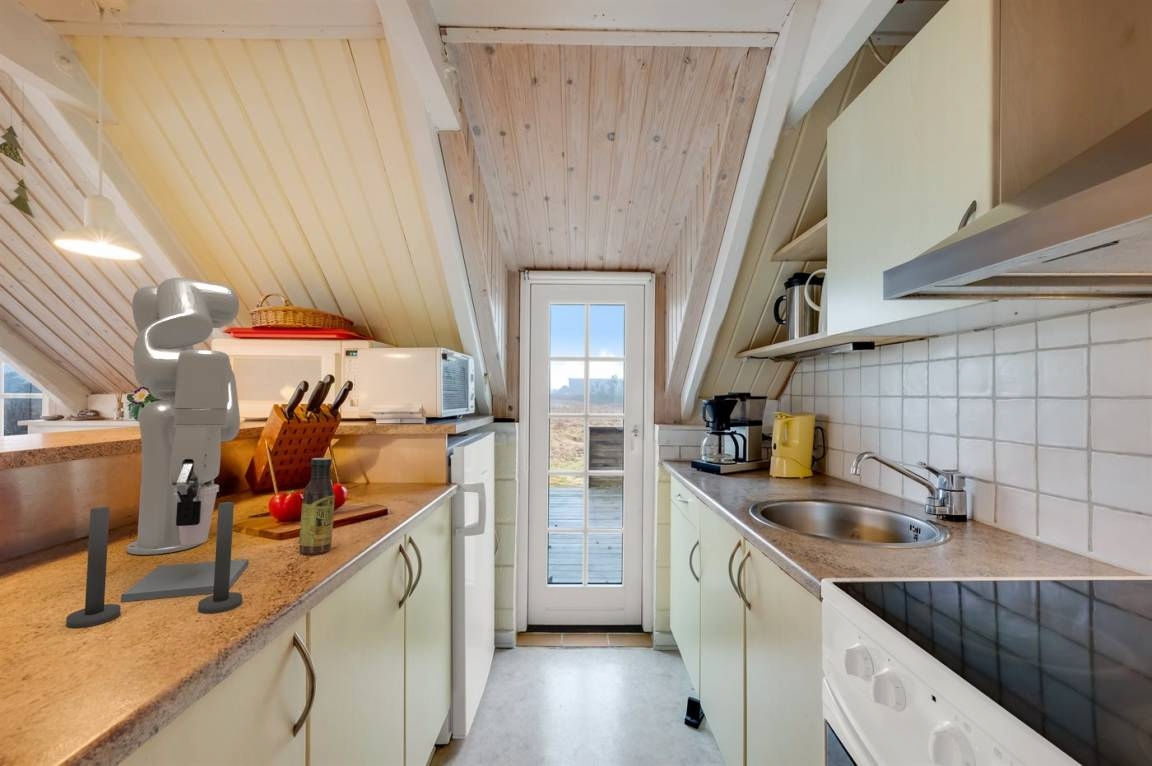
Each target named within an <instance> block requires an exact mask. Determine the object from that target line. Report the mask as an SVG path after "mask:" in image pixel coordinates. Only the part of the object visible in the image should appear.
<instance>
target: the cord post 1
mask: <svg viewBox="0 0 1152 766" xmlns="http://www.w3.org/2000/svg"><path fill="white" fill-rule="evenodd" d="M89 513H90V515H89V531H88V551H87V563H86V564H87V568H86V581H85V582H86V584H85V585H86V586H85V599H84V600H85V602H84V608H82V609H79V610H76V611H74V612H72V613H70V614H68V615H67V616H66V622H65V626H66V627H67V628H70V629H83V628H82V627H84V628H89V626H90V627H95V626H98V625H97V624H99V625H102V624H105V623H108V622H110V621H112V620H113V621H114V619H116V618H118V617H120V616H121V605H120V604H116V603H106V604H105V599H106V598H105V597H106V577H107V561H108V547H109V546H108V545H109V544H108V543H109V542H108V541H109V527H110V525H109V524H110V507H109V506H102V507H101V506H99V507H94V508H90V511H89ZM104 622H105V623H104ZM101 623H102V624H101ZM94 625H95V626H94Z"/></svg>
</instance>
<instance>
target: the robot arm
mask: <svg viewBox="0 0 1152 766" xmlns="http://www.w3.org/2000/svg"><path fill="white" fill-rule="evenodd" d="M239 310H240V300H239V297H238V294H237V293H236V290H235V289H233V287H231V286H229V285H225V284H222V283H217V282H212V281H211V282H210V281H204V280H198V279H192V278H186V277H171V278H168V279H165V280H163V281H162V282H161V283H160V284H158V285H151V286H143V287H141V288H140V287H139V288H138V289H137V290H136V291H135V293H134V294H133V297H132V315H133V320H134V324H135V327H136V329H137V331H138V335H137V337H136V338H135V341H134V344H133V350H132V353H133V355H132V357H133V371H134V377H135V380H136V382H137V384H139V385H140V386H141V387H143V388H145V389H148V391H149V393H150V395H151V396H152V397H153V398H155V399H158V400H154V401H151V402H149V403H147V404H145V405H144V406H143V407H142V408H141V410H140V413H139V419H138V424H139V431H140V439H141V440H140V441H141V451H142V452H141V455H142V457H141V477H140V489H139V490H140V493H139V507H138V508H139V511H138V522H137V523H138V526H137V539H136V540H135V541H132V542H130V543H129V544H127V545H126V552H127V553H128V554H132V555H139V556H141V555H142V556H143V555H149V556H151V555H161V554H170V553H175V552H180V551H184V550H188V549H191V548H194V547H197V546H199V545H201V544H202V543H199V544H193V545H182V544H181V541H180V531H179V526H189V525H198V524H199V523H200V512H201V501H198V500H199V496H200V490H201V485H202V484H215V481H216V478H217V477H218V476H219V475H220V468H221V457H222V456H221V455H222V454H221V451H222V444H221V443H223V442H229V441H232V440H234V439H235V438H236V437H237V436H238V434H239V432H240V428H241V417H240V415H241V414H240V408H239V398H238V397H239V396H238V390H237V382H236V380H237V379H236V377H235V373H234V370H233V369H232V368H233V367H232V363H231V360H230V356H229V355H228V354H227V353H226V352H224V351H218V350H210V349H199V348H198V349H195V348H194V346H195V345H198V344H200V343H202V342H204V341H206V340H208V338H210V336H211V335H212V333H213V330H214V329H220V328H223V327H225V326H227V325H229V324H231V323H232V322H233V321H234V320H235V319H236V318H237V316H238V314H239ZM195 481H196V482H197V483H194V482H195ZM176 487H177V489H178V491H177V493H178V496H177V501H176V495H174V489H175V488H176ZM192 488H195V490H194V492H193V489H192ZM213 514H214V513H213ZM213 514H212V516H213Z"/></svg>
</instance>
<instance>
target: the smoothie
mask: <svg viewBox="0 0 1152 766" xmlns="http://www.w3.org/2000/svg"><path fill="white" fill-rule="evenodd" d="M194 483H197V482H196V481H195V482H194ZM192 489H193V492H194V490H195V488H192ZM177 491H178V489H177V487H176V488H175V489H174V495H176V501H177V496H178V493H177ZM218 492H220V485H219V484H215V483H214V484H202V485H201V490H200V496H199V500H198V501H201V512H200V523H199V524H198V525H189V526H179V531H180V541H181V544H182V545H193V544H199V543H201V544H202V543H206V542H207V541H208V538H209V533H210V527H211V524H212V518H213V515H212V514H214V508H215V503H216V498H217V493H218ZM199 545H200V544H199Z"/></svg>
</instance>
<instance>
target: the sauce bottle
mask: <svg viewBox="0 0 1152 766" xmlns="http://www.w3.org/2000/svg"><path fill="white" fill-rule="evenodd" d="M332 463H333V459H332V458H331V457H313V458H311V459H310V466H311V473H310V477H309V478H310V480H309V482H308V483H307V485H306V486H305V488H304V489H303V493H302V495H303V496H302V503H301V514H300V515H301V516H300V527H299V539H298V545H299V553H300V554H302V555H317V554H322V553H323V554H324V553H326V552H328V551H329V550H330V549H331V546H332V542H333V530H334V529H333V528H334V527H333V526H334V519H335V518H334V517H335V516H334V515H335V501H336V495H335V494H336V493H335V491H334V488H333V484H332V481H331V466H332V465H333V464H332Z"/></svg>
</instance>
